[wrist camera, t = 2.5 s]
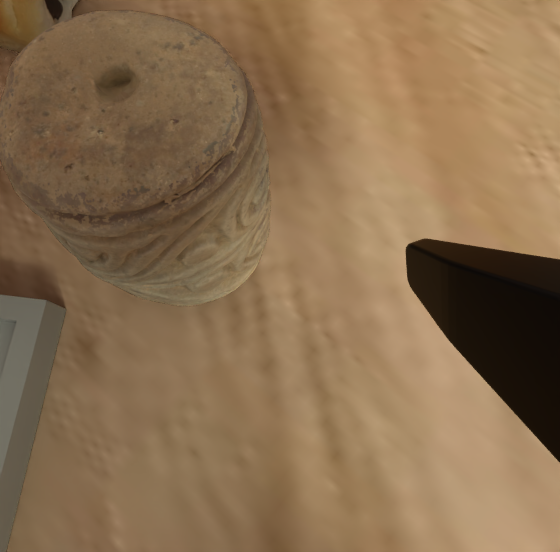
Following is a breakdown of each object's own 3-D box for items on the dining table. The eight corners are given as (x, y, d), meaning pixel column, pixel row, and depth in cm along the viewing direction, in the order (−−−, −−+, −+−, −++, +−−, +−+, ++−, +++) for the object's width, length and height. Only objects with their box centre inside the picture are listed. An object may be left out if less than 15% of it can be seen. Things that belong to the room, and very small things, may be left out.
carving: (94, 247, 21) (-96, 71, 10) (220, 167, 23) (182, -67, 11) (166, 351, 20) (45, 288, 9) (293, 259, 22) (334, 103, 10)
